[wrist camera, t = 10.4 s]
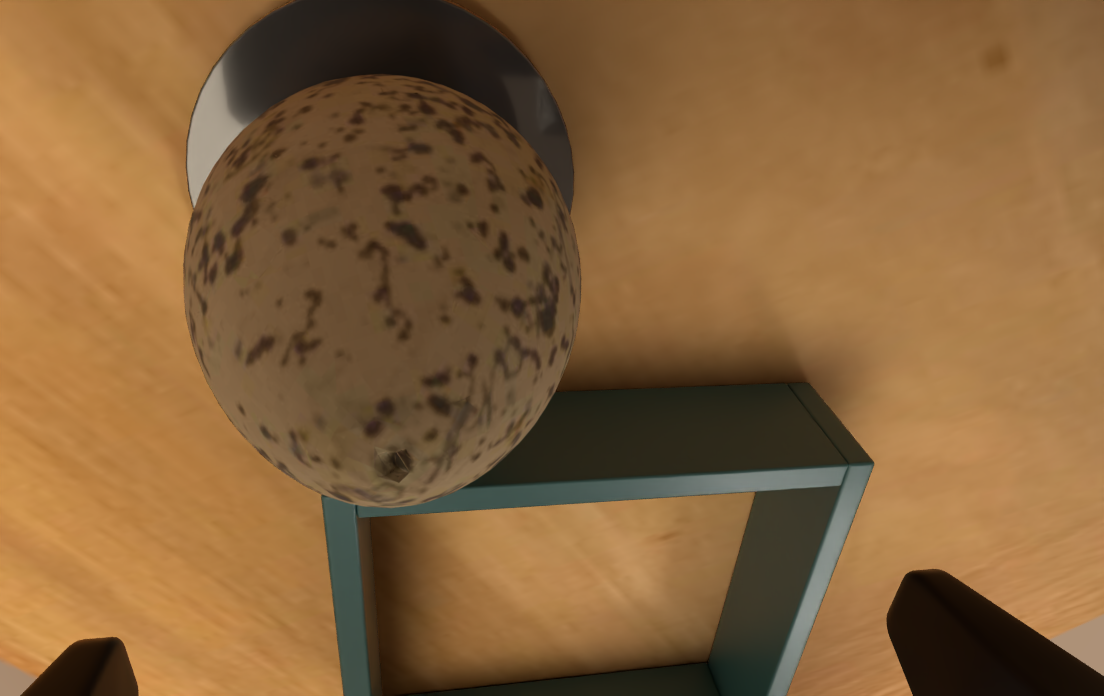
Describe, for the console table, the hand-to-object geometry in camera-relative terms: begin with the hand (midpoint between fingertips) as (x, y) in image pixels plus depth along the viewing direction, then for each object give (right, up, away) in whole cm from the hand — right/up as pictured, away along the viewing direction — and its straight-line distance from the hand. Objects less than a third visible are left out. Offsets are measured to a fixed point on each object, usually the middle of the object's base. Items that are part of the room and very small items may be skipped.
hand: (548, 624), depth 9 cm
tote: (+1, -4, +18) cm, 18 cm away
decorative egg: (-4, +7, +10) cm, 12 cm away
